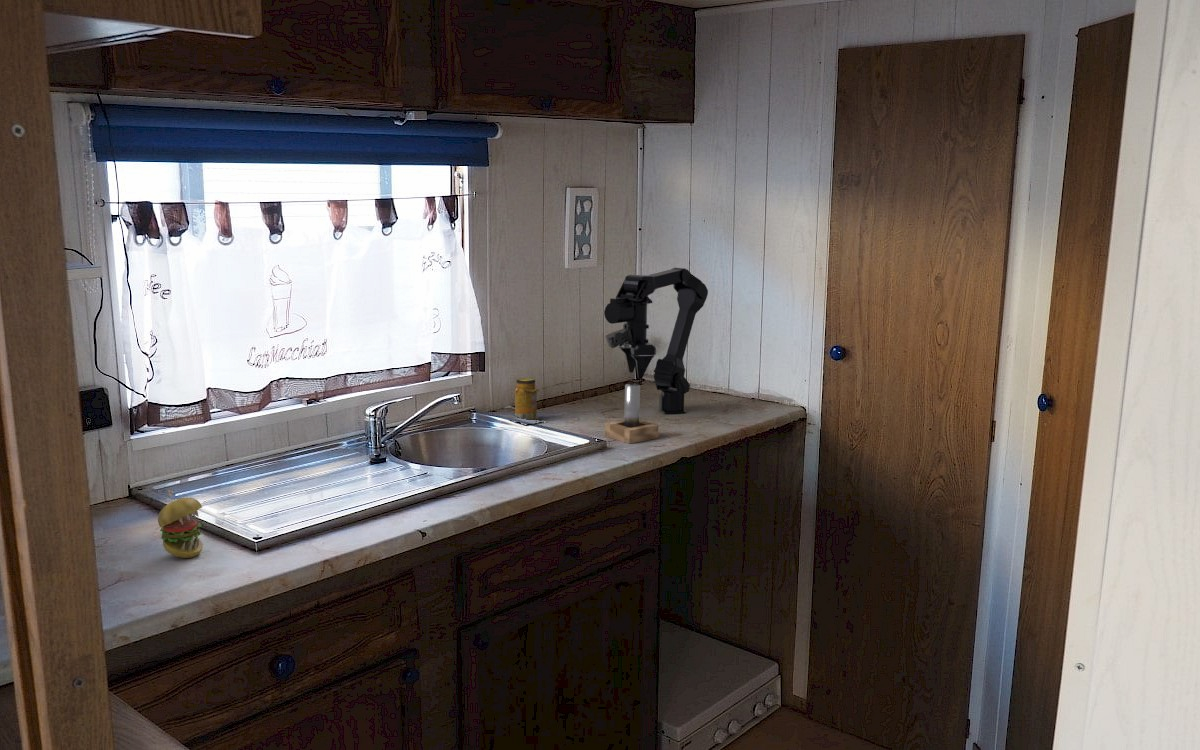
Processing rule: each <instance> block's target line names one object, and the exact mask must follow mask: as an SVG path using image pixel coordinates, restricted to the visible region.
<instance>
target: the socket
mask: <svg viewBox="0 0 1200 750" xmlns="http://www.w3.org/2000/svg"><path fill="white" fill-rule="evenodd" d="M604 437H607V438H610V439H614V440H617V441H619V442H623V443H627V444H628V445H629V444H630V445H631V444H635V443H640V442H641V443H642V442H645V441H650V440H655V439H658V438H659V425H658V424H656V423H652V422H649V421H645V420H641V419H639V426H638V427H633V428H629V427H626V426H624V419H622V420H615V421H611V422H605V424H604Z"/></svg>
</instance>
